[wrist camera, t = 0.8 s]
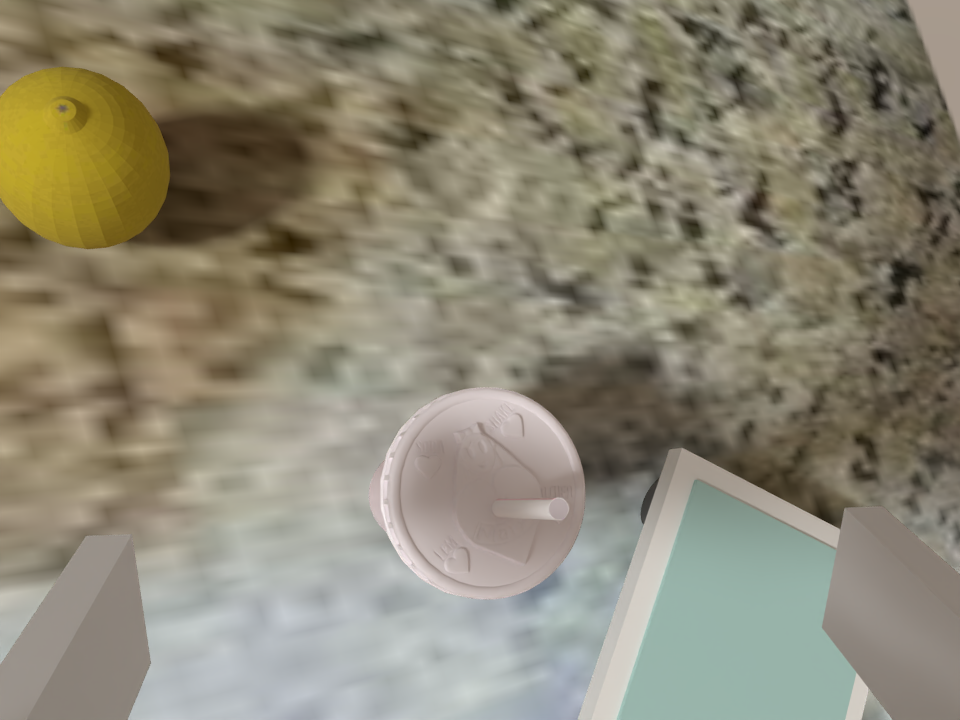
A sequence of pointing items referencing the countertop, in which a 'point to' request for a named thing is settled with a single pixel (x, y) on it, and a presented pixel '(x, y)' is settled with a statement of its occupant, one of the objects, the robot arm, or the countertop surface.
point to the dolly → (723, 609)
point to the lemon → (80, 158)
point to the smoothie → (481, 493)
